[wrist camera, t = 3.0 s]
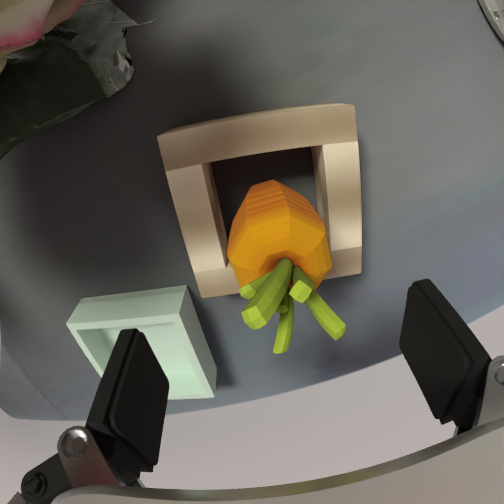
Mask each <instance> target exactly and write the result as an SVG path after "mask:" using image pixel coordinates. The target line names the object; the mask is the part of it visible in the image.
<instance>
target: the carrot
mask: <svg viewBox="0 0 504 504" xmlns="http://www.w3.org/2000/svg"><path fill="white" fill-rule="evenodd" d="M227 256H228V259H229V261H230V264H231V266H232V269H233V271H234V273H235V276H236V278H237V281H238V283H239V285H240V288H241V289H239V292H240V294H241V296H242V297H244V298H246V299H250V298H251V299H250V301H249V302H248V304H247V305H246V307H245V308H244V309H243V311H242V312H241V314H242V316H243V319H244V322H245V323H246V324H247V325H248V326H249V327H250V328H251V329H259V328H261V327H262V326H264V325H265V324H267V322H268V321H269V320H270V318H271V317H272V315H273V314H274V312H275V311H276V312H278V313H280V320H279V325H278V331H277V335H276V340H275V344H274V350H273V353H277V354H280V353H283V352H286V351H287V350H288V348H289V345H290V342H291V337H292V333H293V322H294V303H293V301H294V300H296V301H298V302H300V303H303V302H304V301H305V302H306V304H307V306H308V307H309V309H310V310H311V312H312V313H313V315H314V316H315V318H316V319H317V321H318V323H319V324H320V325H321V326H322V327H323V329H324V330H325V331H326V332H327V333H328V334H329V335H330V336H331V337H332V338H333V339H334V340H338V339H339V338H341V337H342V336H343V334H344V333H345V331H346V325H345V323H344V322H343V321H342V320H341V319H340V318H339V317H338V316H337V315H336V314H335V313H334V312H333V311H332V310H331V309H330V308H329V307H328V305H327V304H326V303H325V302H324V301H323V300H322V298H321V297H320V296H319V295H318V294H317V293H316V292H315V290H316V289H317V287H318V286H319V285H320V283H321V282H322V281H323V279H324V278H325V277H326V275H327V274H328V272H329V271H330V270H331V268H332V265H333V262H332V257H331V252H330V247H329V243H328V238H327V234H326V229H325V226H324V223H323V222H322V220H321V218H320V217H319V215H318V214H317V212H316V211H315V209H314V208H313V207H312V205H311V204H310V203H309V201H308V200H307V199H306V198H305V197H304V196H302V195H301V194H299V193H298V192H296V191H294V190H293V189H291V188H289V187H287V186H285V185H283V184H281V183H279V182H277V181H275V180H273V179H272V180H269V181H266V182H262V183H259V184H256V185H253V186H252V187H251V188H250V189H249V191H248V193H247V195H246V197H245V199H244V201H243V202H242V204H241V206H240V208H239V210H238V212H237V214H236V216H235V217H234V219H233V223H232V227H231V231H230V236H229V242H228V249H227Z"/></svg>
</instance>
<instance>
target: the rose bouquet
mask: <svg viewBox="0 0 504 504" xmlns="http://www.w3.org/2000/svg"><path fill="white" fill-rule="evenodd" d="M156 20H157V19H156ZM153 21H155V20H153ZM153 21H149V22H146V23H142V24H148V23H150V22H153ZM135 25H141V24H137V23H136V22H135V21H134V20H132V19H131V18H130V17H129V16H128V15H126V14H125V13H124V12H123V11H121V10H120V9H119V8H118V7H117V6H116V5H115V4H114V3H113V2H112V1H111V0H0V158H1V157H2V156H3V155H4V154H5V153H7V152H8V151H9V150H10V149H11V148H13V147H14V146H15V145H17V144H18V143H19V142H22V141H24V140H23V139H24V138H25V137H27V136H29V135H31V134H38V133H41V132H44V131H46V130H48V129H50V128H52V127H54V126H56V125H58V124H59V123H62V122H64V121H66V120H68V119H70V118H72V117H74V116H75V115H77V114H78V113H80V112H81V111H83V110H84V109H86V108H87V107H88V106H89V105H91V104H92V103H94V102H95V101H98V100H100V99H103V98H109V97H110V96H111V95H113V94H115V93H116V92H118V91H120V90H121V89H122V88H124V87H125V85H126V83H127V82H128V81H129V80H130V79H131V77H132V75H133V72H134V69H135V68H134V67H133V65H132V64H131V60H132V56H131V55H130V53H129V52H128V50H127V43H126V40H125V36H126V32H127V29H126V31H125V33H122V29H123V28H124V27H130V26H135ZM51 30H56V31H57V33H55V34H51V35H46V34H45V33H48V32H49V31H51ZM69 31H72V32H75V33H76V36H75V37H74V38H73V40H70V38H67V37H66V36H64V37H62V36H61V37H60V36H59V33H63V32H64V33H67V32H69Z"/></svg>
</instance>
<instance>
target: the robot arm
mask: <svg viewBox="0 0 504 504" xmlns="http://www.w3.org/2000/svg"><path fill="white" fill-rule="evenodd" d="M479 3H480V5H481V7H482V9H483V11H484V13H485V15H486V17H487V19H488V20H489V22H490V24H491V25H492V27H493V28H494V30H495V31H496V33H497V34H498V36H499V37H500V38H501V39H502V41H503V42H504V0H479ZM399 344H400V349H401V351H402V353H403V355H404V357H405V359H406V361H407V363H408V365H409V366H410V368H411V370H412V372H413V374H414V376H415V378H416V380H417V382H418V384H419V386H420V388H421V391H422V392H423V395H424V397H425V399H426V401H427V403H428V405H429V407H430V409H431V411H432V414H433V416H434V417H435V418H436V419H439V420H440V422H441V424H442V425H443V424H445V423H448V422H450V421H452V420H453V421H454V423H455V425H456V428H455V432H454V435H453V438H450V439H448V440H446V441H444V442H441V443H438V444H436V445H433V446H431V447H428V448H426V449H423V450H420V451H418V452H415V453H412V454H409V455H406V456H404V457H401V458H398V459H395V460H392V461H388V462H385V463H382V464H378V465H375V466H372V467H368V468H365V469H361V470H357V471H353V472H349V473H345V474H340V475H335V476H331V477H326V478H321V479H316V480H310V481H304V482H298V483H291V484H284V485H276V486H267V487H257V488H244V489H226V490H180V489H157V488H156V489H155V488H146V487H145V486H144V484H143V483H142V482H141V480H140V479H139V478H140V472H153V466H154V465H156V464H157V463H158V458H159V451H160V444H161V437H162V431H163V424H164V418H165V412H166V406H167V400H168V394H169V388H170V386H169V380H168V378H167V376H166V375H165V373H164V371H163V369H162V367H161V365H160V364H159V362H158V360H157V358H156V356H155V354H154V352H153V350H152V348H151V346H150V344H149V342H148V340H147V338H146V336H145V334H144V333H143V332H140V331H139V330H138V329H137V328H132V329H122V330H121V331H120V333H119V335H118V338H117V340H116V343H115V345H114V348H113V350H112V353H111V355H110V358H109V361H108V363H107V366H106V368H105V371H104V373H103V376H102V379H101V381H100V384H99V387H98V390H97V392H96V395H95V398H94V401H93V404H92V407H91V410H90V413H89V416H88V419H87V422H86V425H85V427H81V426H74V427H71V428H68V429H67V430H66V431H65V432H63V434H62V435H61V436H60V438H59V440H58V445H57V449H58V453H57V454H55V455H54V456H52V457H51V458H49V459H47V460H46V461H44V462H43V463H41V464H40V465H38V466H37V467H35V468H33V469H32V470H30V471H29V472H28V473H26V474H25V476H24V477H23V479H22V483H21V491H22V493H21V494H20V493H19V492H17V493H16V494H15V495H14V497H13V498H12V499H11V500H10V501H9V503H8V504H504V356H498V357H496V358H494V359H493V360H492V359H491V358H490V356H489V354H488V353H487V352H486V350H485V349H484V347H483V346H482V345H481V343H480V342H479V341H478V339H477V338H476V337H475V335H474V334H473V332H472V331H471V330H470V328H469V327H468V326H467V325H466V323H465V322H464V321H463V319H462V318H461V317H460V316H459V314H458V313H457V312H456V311H455V309H454V308H453V307H452V306H451V304H450V303H449V302H448V301H447V299H446V298H445V297H444V296H443V295H442V293H441V292H440V291H439V290H438V289H437V287H436V286H435V285H434V284H433V283H432V282H431V280H429V279H423V280H419V281H415V282H413V284H412V286H411V287H409V289H408V294H407V301H406V307H405V314H404V319H403V325H402V330H401V336H400V341H399Z"/></svg>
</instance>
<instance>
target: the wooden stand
mask: <svg viewBox="0 0 504 504" xmlns="http://www.w3.org/2000/svg"><path fill="white" fill-rule="evenodd" d="M157 139H158V144H159V148H160V152H161V156H162V160H163V164H164V168H165V172H166V176H167V180H168V184H169V187H170V191H171V195H172V199H173V202H174V206H175V210H176V213H177V217H178V221H179V224H180V228H181V231H182V235H183V238H184V241H185V245H186V248H187V252H188V255H189V258H190V262H191V265H192V268H193V271H194V275H195V278H196V281H197V284H198V287H199V291H200V294H201V297H202V298H207V297H214V296H222V295H229V294H236V293H240V292H239V289H241V288H240V285H239V283H238V281H237V278H236V276H235V273H234V271H233V269H232V266H231V264H230V261H229V259H228V256H227V249H228V239H227V235H226V230H225V226H224V221H223V217H222V212H221V208H220V203H219V199H218V194H217V189H216V185H215V180H214V176H213V171H212V166H211V162H213V161H219V160H224V159H229V158H235V157H241V156H246V155H252V154H259V153H265V152H272V151H278V150H285V149H293V148H300V147H308V146H311V152H312V161H313V170H314V179H315V189H316V199H317V210H318V215H319V217H320V218H321V220H322V222H323V223H324V226H325V229H326V234H327V238H328V243H329V247H330V252H331V257H332V262H333V265H332V268H331V270H330V271H329V272H328V274H327V275H326V277H325V278H324V279H323V280H325V279H331V278H337V277H342V276H348V275H354V274H359V273H361V265H362V213H361V183H360V165H359V150H358V138H357V126H356V117H355V107H354V105H348V104H341V103H328V104H317V105H306V106H297V107H288V108H281V109H273V110H266V111H259V112H253V113H247V114H241V115H235V116H230V117H224V118H219V119H214V120H209V121H204V122H200V123H195V124H191V125H186V126H182V127H178V128H174V129H171V130H169V131H167V132H165V133H163V134H161V135H159V136H157Z"/></svg>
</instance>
